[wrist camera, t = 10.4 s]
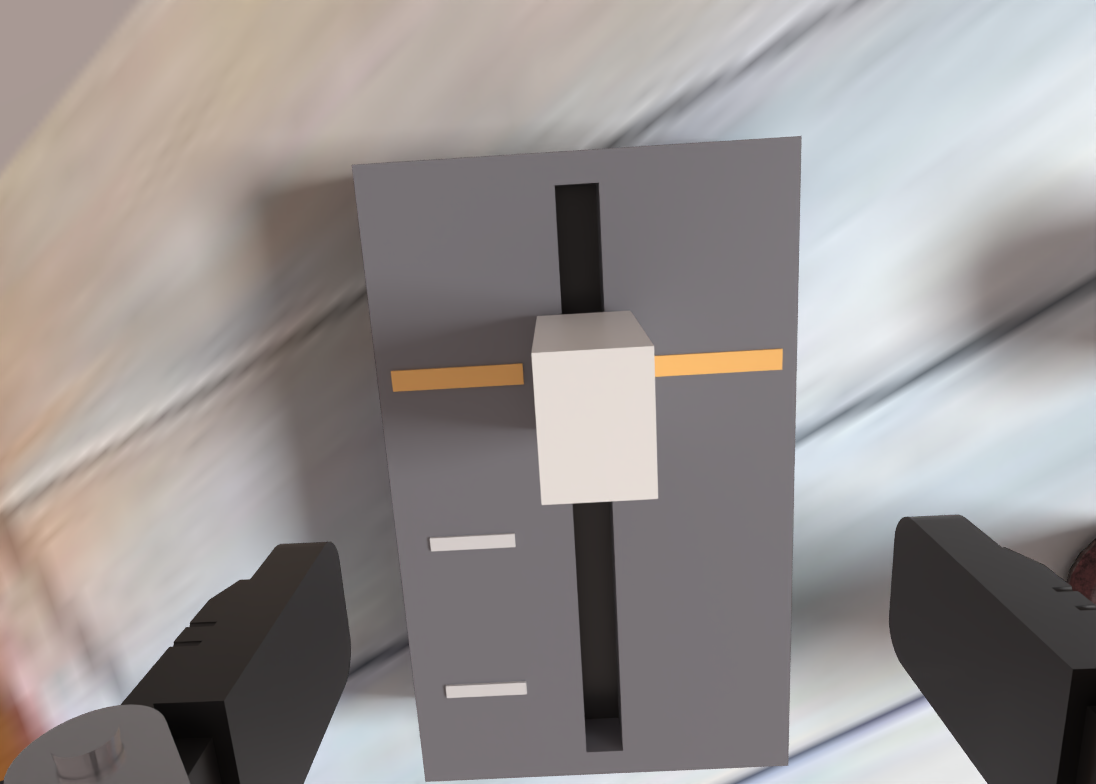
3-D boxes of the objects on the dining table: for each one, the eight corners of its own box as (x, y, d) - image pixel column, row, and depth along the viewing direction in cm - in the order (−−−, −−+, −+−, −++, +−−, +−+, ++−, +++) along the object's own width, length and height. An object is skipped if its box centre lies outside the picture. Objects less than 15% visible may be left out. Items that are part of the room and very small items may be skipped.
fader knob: (538, 307, 26) (531, 352, 19) (624, 302, 26) (654, 346, 18) (545, 417, 27) (541, 504, 20) (628, 413, 27) (658, 499, 19)
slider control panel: (385, 170, 29) (351, 164, 24) (759, 146, 28) (802, 135, 23) (443, 699, 34) (425, 783, 29) (754, 684, 34) (788, 767, 29)
